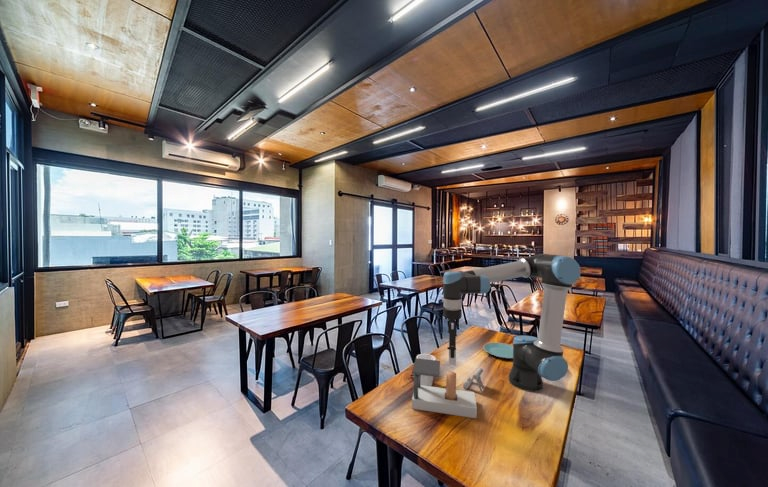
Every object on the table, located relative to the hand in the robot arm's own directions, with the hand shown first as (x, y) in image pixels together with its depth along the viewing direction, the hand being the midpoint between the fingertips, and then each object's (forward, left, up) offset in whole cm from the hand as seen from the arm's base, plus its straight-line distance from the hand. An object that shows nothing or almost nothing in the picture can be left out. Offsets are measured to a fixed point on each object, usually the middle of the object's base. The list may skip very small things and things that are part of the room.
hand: (452, 357), depth 119 cm
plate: (-31, -63, -21) cm, 73 cm away
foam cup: (+12, -15, -21) cm, 28 cm away
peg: (0, 0, -21) cm, 21 cm away
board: (+3, 0, -21) cm, 21 cm away
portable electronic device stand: (-11, -18, -21) cm, 30 cm away
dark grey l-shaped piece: (+11, 0, -17) cm, 20 cm away
